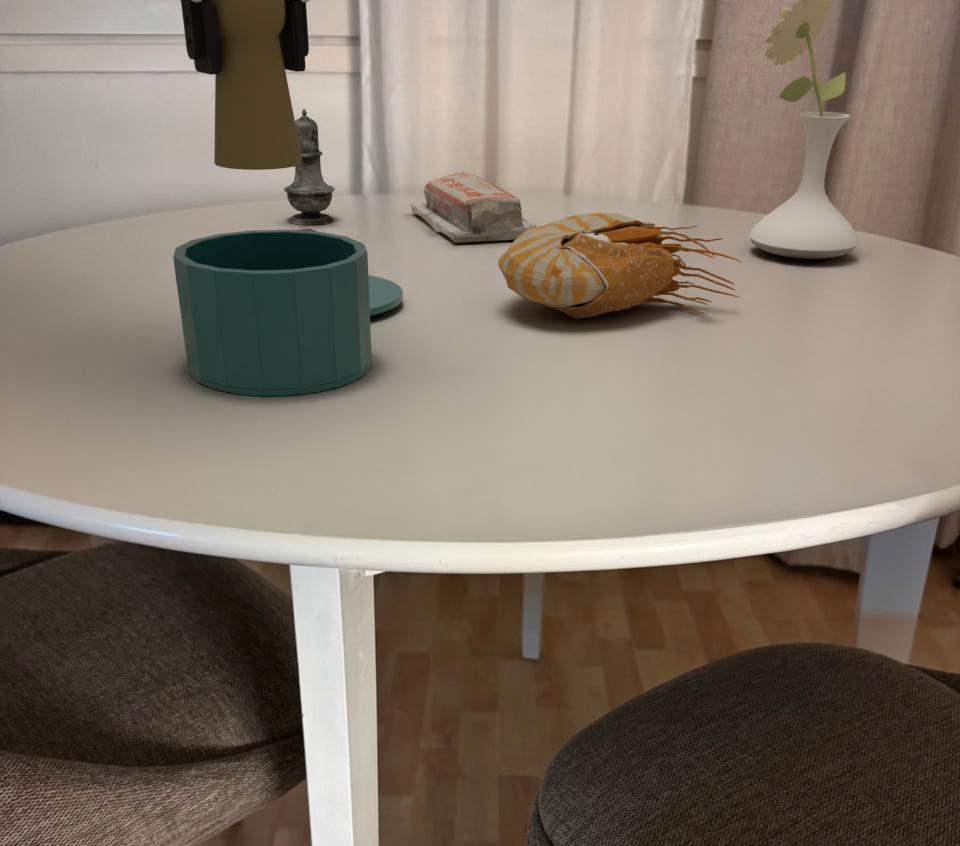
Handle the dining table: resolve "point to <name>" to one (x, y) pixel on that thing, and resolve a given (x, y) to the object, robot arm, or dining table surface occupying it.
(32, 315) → the dining table surface
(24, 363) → the dining table surface
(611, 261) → the nautilus
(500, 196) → the packaged product
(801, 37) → the flower in vase
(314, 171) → the salt shaker
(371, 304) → the tin lid
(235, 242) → the tin
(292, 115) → the cork
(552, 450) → the dining table surface
